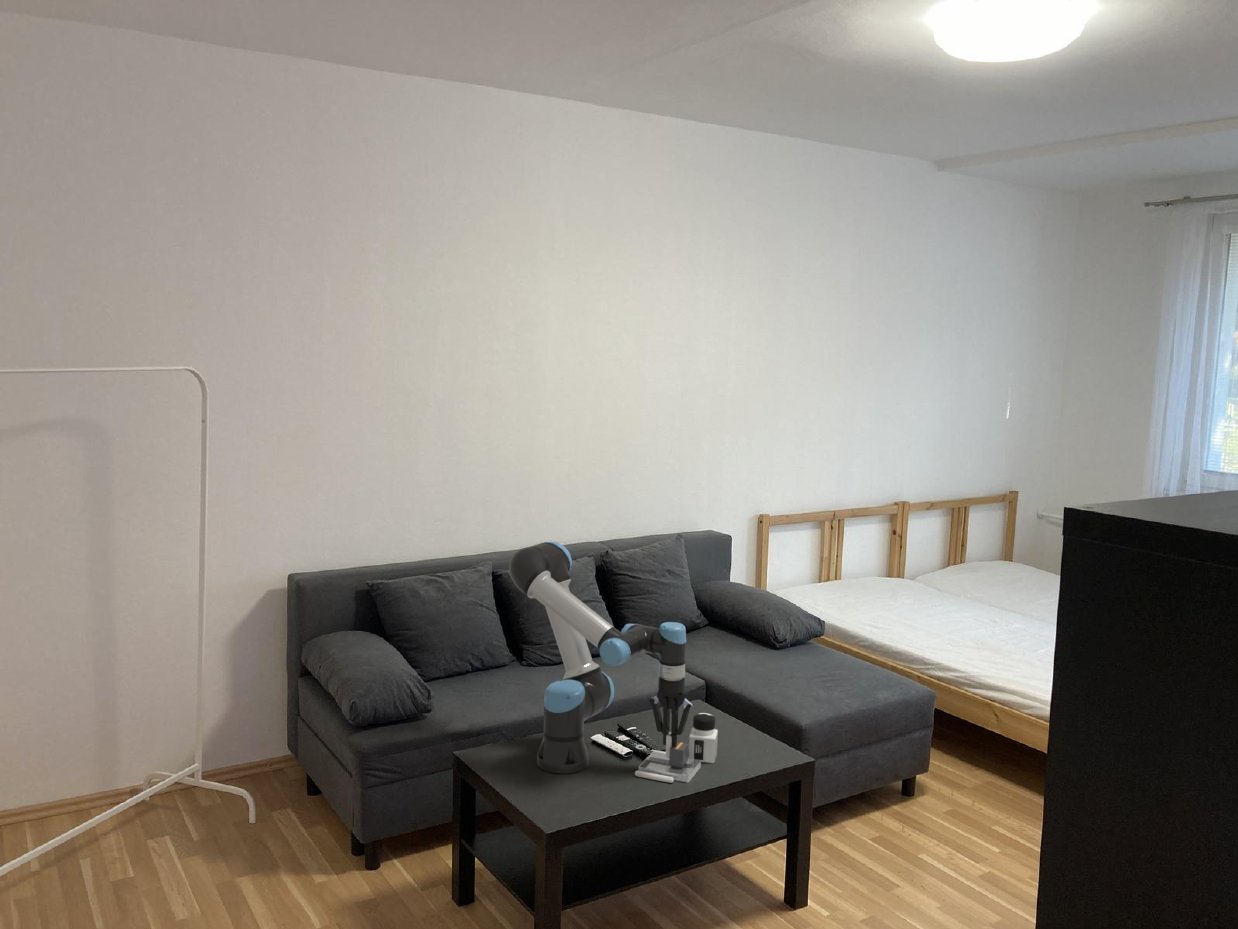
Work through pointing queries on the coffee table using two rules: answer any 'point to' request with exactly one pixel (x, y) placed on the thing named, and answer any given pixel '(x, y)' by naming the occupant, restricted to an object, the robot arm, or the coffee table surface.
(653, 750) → the cord far
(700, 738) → the container
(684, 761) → the toggle
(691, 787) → the coffee table surface
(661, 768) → the panel
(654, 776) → the rod
